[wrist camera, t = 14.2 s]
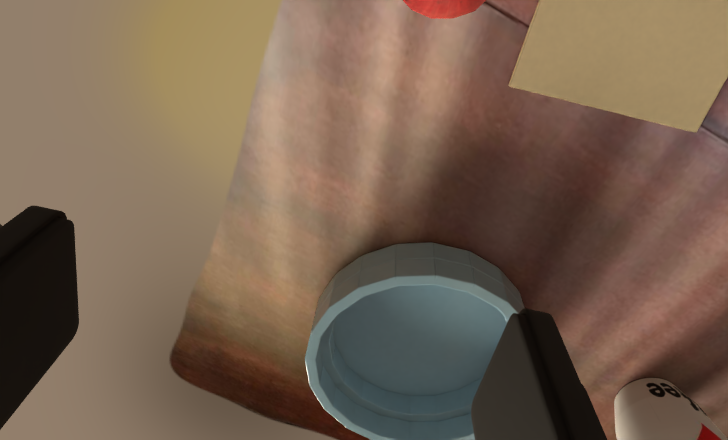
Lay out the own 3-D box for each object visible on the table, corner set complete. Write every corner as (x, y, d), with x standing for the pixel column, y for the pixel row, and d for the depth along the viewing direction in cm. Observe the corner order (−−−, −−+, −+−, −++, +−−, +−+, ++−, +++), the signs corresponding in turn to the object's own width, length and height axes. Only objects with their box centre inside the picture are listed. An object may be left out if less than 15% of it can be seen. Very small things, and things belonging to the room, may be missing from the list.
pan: (299, 381, 45) (289, 423, 41) (337, 217, 37) (329, 250, 34) (485, 421, 46) (492, 466, 42) (560, 269, 38) (578, 307, 34)
